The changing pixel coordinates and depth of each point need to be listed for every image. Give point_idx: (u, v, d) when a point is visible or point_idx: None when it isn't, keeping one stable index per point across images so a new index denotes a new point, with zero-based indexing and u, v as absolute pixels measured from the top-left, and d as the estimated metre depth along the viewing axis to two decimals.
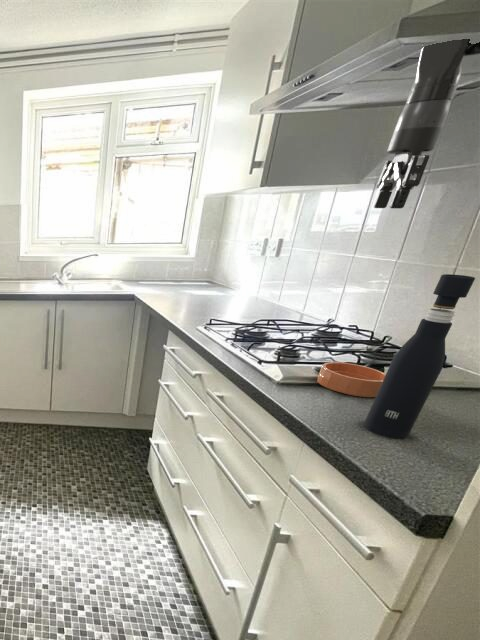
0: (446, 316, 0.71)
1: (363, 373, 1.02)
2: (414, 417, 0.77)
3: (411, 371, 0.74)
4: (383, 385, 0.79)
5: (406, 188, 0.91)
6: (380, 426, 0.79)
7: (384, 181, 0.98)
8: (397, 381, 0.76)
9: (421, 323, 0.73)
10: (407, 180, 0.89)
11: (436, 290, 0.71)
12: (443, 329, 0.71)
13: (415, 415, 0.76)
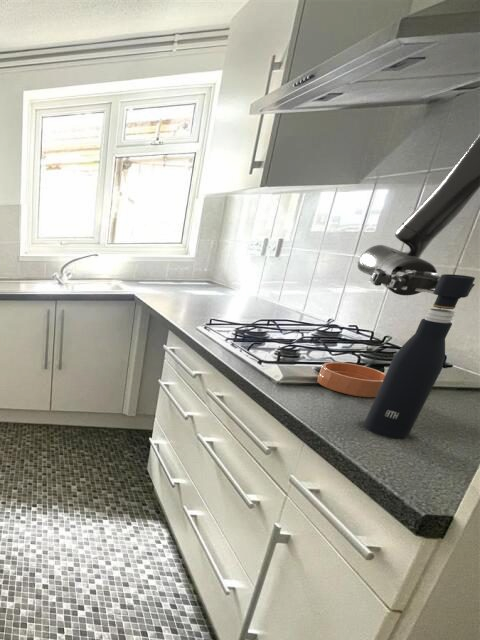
0: (446, 316, 0.71)
1: (363, 373, 1.02)
2: (414, 417, 0.77)
3: (411, 371, 0.74)
4: (383, 385, 0.79)
5: (386, 280, 0.85)
6: (380, 426, 0.79)
7: None
8: (397, 381, 0.76)
9: (421, 323, 0.73)
10: (373, 282, 0.87)
11: (436, 290, 0.71)
12: (443, 329, 0.71)
13: (415, 415, 0.76)
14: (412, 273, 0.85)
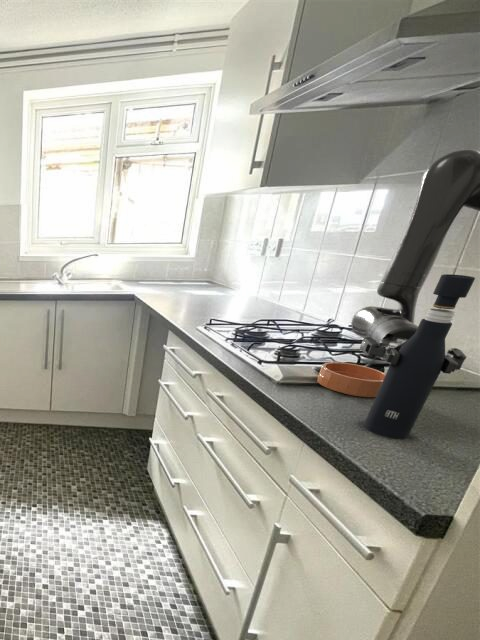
0: (446, 316, 0.71)
1: (363, 373, 1.02)
2: (414, 417, 0.77)
3: (411, 371, 0.74)
4: (383, 385, 0.79)
5: (380, 352, 0.79)
6: (380, 426, 0.79)
7: None
8: (397, 381, 0.76)
9: (421, 323, 0.73)
10: (367, 353, 0.81)
11: (436, 290, 0.71)
12: (443, 329, 0.71)
13: (415, 415, 0.76)
14: (403, 342, 0.80)
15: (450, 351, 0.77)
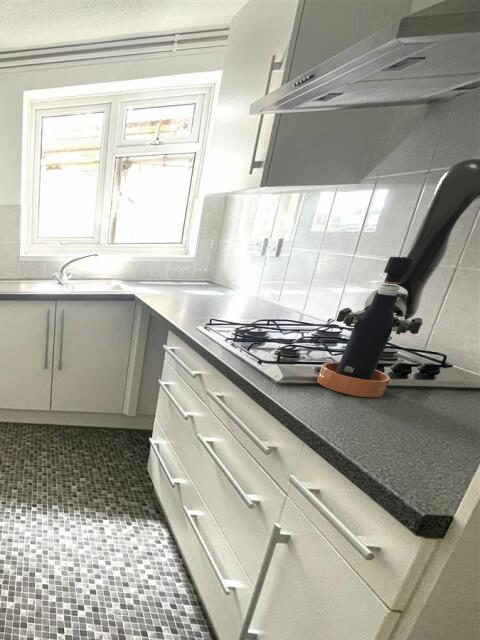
0: (391, 289, 0.90)
1: None
2: (367, 372, 0.96)
3: (362, 334, 0.94)
4: (346, 346, 0.98)
5: (344, 318, 0.99)
6: None
7: None
8: (353, 342, 0.96)
9: None
10: (336, 319, 1.02)
11: (385, 269, 0.90)
12: (389, 300, 0.90)
13: (368, 370, 0.95)
14: None
15: (413, 320, 0.94)
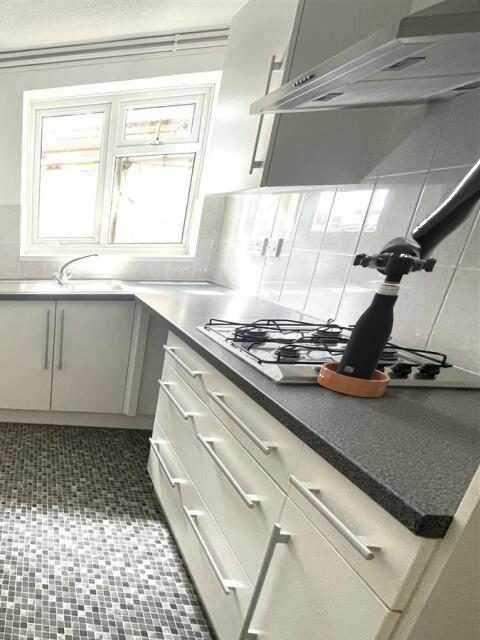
0: (391, 289, 0.90)
1: None
2: (367, 372, 0.96)
3: (362, 334, 0.94)
4: (346, 346, 0.98)
5: (360, 261, 1.03)
6: None
7: None
8: (353, 342, 0.96)
9: None
10: (353, 263, 1.06)
11: (385, 269, 0.90)
12: (389, 300, 0.90)
13: (368, 370, 0.95)
14: (388, 255, 1.02)
15: (427, 260, 0.98)
